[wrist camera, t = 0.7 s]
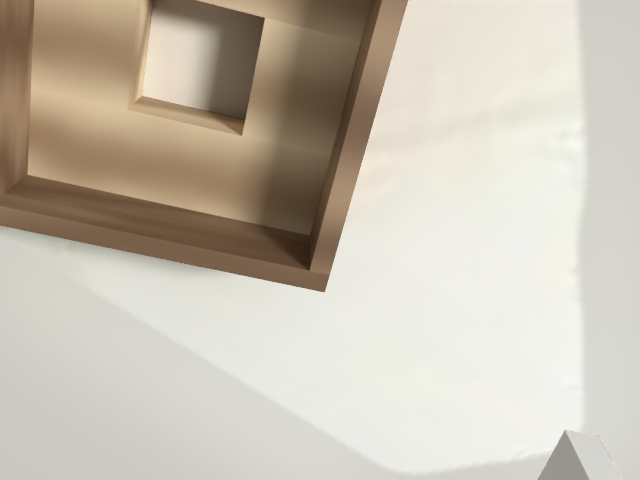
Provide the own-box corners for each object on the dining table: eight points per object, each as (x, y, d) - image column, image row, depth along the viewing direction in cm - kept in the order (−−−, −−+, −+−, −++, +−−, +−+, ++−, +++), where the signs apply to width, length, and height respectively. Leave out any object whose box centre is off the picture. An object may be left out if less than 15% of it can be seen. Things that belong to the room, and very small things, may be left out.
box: (46, -181, 27) (-34, -219, 21) (407, -80, 29) (432, -87, 23) (30, 169, 35) (-32, 218, 28) (322, 232, 36) (324, 292, 30)
